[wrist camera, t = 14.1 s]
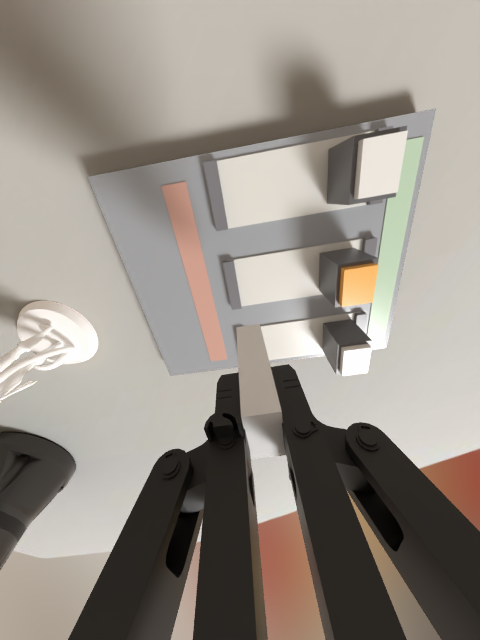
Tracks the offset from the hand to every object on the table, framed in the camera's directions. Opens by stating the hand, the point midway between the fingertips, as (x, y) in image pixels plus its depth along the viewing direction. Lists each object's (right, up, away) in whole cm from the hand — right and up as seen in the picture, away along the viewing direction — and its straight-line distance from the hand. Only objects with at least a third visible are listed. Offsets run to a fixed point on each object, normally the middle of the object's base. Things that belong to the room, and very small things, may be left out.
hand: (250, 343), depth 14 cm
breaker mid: (+8, +6, +6) cm, 12 cm away
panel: (+2, +6, +9) cm, 11 cm away
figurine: (-22, 0, +12) cm, 25 cm away
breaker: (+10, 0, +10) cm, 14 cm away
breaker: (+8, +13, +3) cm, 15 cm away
